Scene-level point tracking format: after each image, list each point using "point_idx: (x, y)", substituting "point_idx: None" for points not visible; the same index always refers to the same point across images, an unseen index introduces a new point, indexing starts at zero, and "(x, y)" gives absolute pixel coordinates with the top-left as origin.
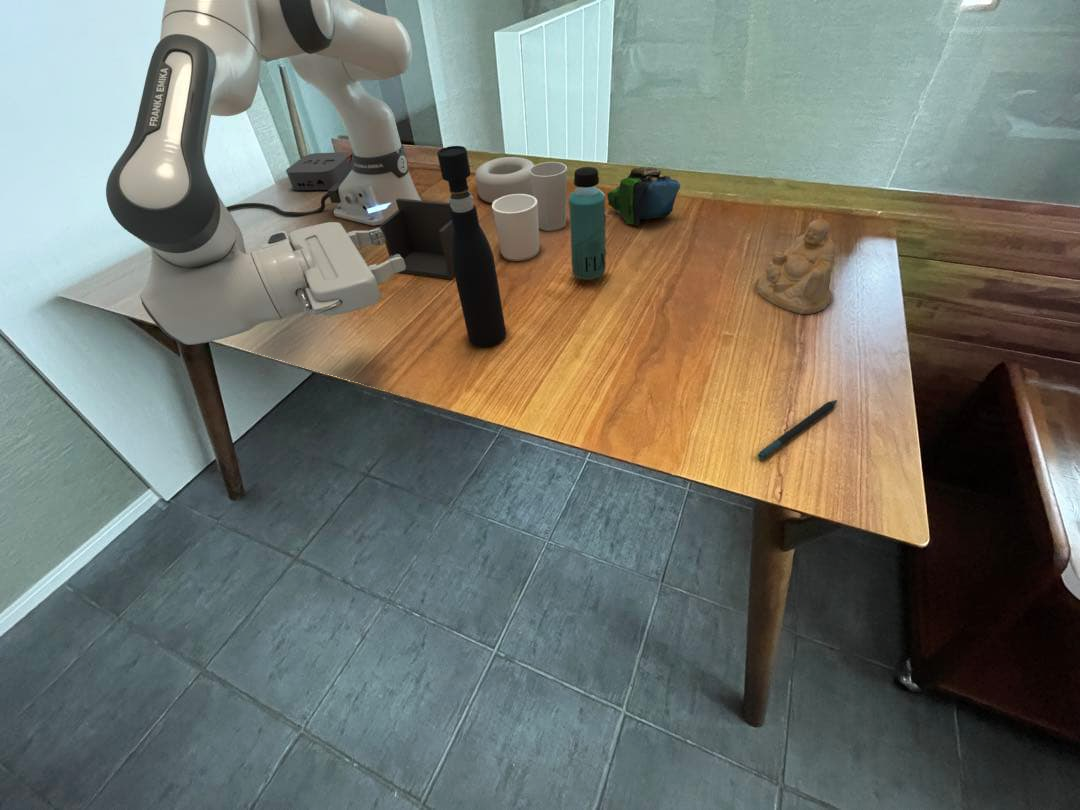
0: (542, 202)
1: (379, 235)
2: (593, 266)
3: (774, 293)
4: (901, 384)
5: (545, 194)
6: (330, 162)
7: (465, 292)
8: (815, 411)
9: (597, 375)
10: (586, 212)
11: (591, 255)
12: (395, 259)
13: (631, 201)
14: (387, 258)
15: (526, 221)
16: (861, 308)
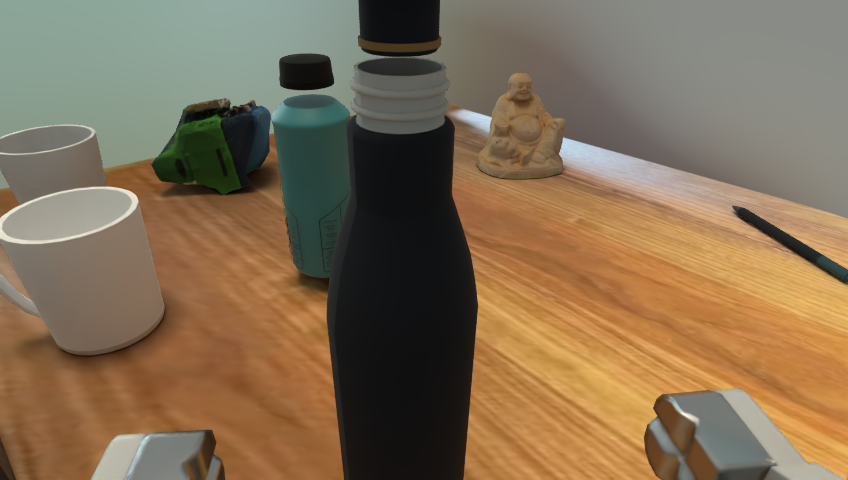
0: None
1: (206, 467)
2: None
3: (525, 166)
4: (699, 176)
5: (77, 187)
6: None
7: (448, 414)
8: (758, 220)
9: (639, 360)
10: (343, 135)
11: None
12: (770, 422)
13: (227, 152)
14: (718, 476)
15: (141, 234)
16: (567, 150)
